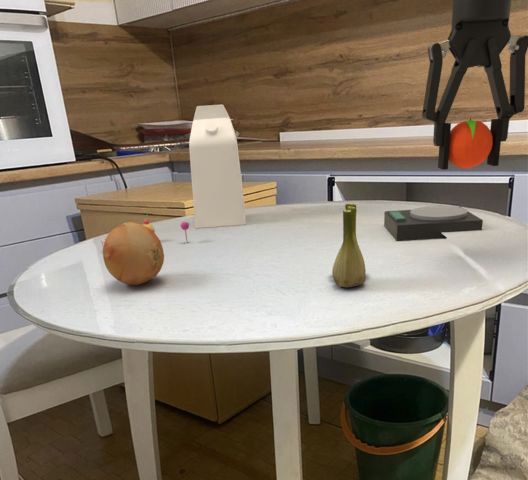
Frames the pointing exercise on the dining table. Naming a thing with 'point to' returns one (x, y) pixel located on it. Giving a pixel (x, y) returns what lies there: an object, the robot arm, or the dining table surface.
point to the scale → (430, 222)
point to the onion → (133, 253)
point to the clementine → (469, 143)
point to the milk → (215, 169)
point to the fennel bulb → (349, 253)
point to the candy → (146, 223)
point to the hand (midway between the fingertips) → (467, 166)
